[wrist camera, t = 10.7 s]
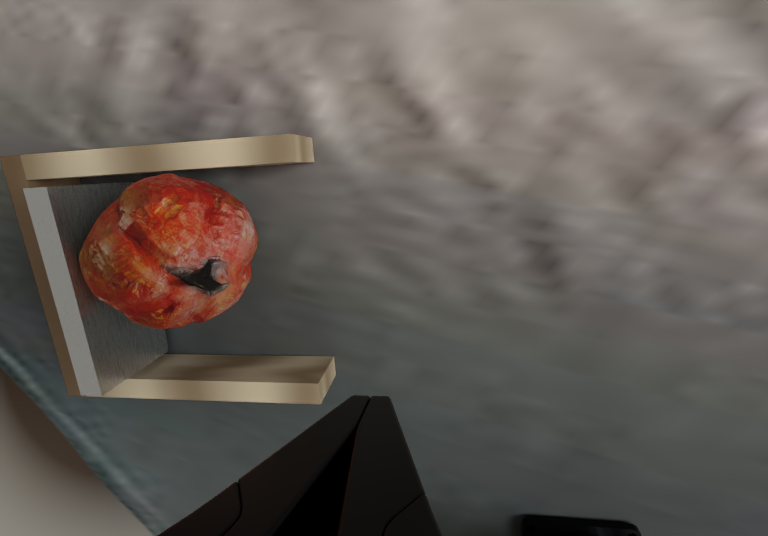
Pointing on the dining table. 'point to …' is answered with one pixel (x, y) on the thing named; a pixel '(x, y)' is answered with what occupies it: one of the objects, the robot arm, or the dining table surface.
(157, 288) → the pomegranate
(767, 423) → the dining table surface
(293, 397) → the pusher lane
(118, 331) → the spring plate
